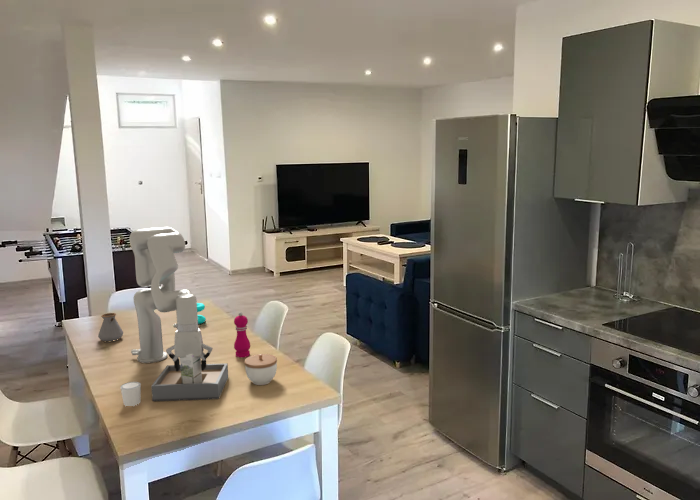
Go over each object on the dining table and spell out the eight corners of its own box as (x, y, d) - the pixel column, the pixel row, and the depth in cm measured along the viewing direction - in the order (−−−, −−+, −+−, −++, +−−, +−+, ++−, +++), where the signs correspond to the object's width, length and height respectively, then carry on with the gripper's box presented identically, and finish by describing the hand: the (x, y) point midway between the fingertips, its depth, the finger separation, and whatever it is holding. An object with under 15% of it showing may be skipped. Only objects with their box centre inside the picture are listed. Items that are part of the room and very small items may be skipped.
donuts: (188, 302, 299) (206, 302, 299) (189, 320, 301) (207, 319, 301) (182, 307, 289) (201, 307, 289) (184, 325, 291) (202, 325, 291)
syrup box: (203, 384, 212) (200, 348, 209) (194, 390, 206) (191, 354, 204) (190, 382, 214) (188, 347, 211) (181, 388, 208) (178, 352, 206)
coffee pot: (97, 338, 272) (94, 309, 269) (122, 334, 278) (119, 306, 275) (102, 351, 254) (99, 320, 251) (128, 346, 259) (125, 316, 257)
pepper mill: (247, 358, 241) (244, 314, 237) (231, 357, 242) (229, 314, 239) (253, 352, 248) (251, 310, 244) (238, 352, 249) (236, 309, 246)
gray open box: (152, 401, 200) (151, 385, 199) (168, 379, 219) (167, 365, 218) (218, 399, 200) (217, 383, 199) (228, 377, 220) (227, 363, 219)
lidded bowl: (263, 390, 207) (262, 362, 205) (238, 383, 214) (237, 357, 212) (284, 378, 218) (283, 352, 216) (260, 372, 224) (259, 347, 223)
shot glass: (125, 399, 201) (123, 381, 200) (144, 398, 202) (143, 380, 201) (119, 408, 195) (117, 389, 193) (139, 407, 195) (137, 388, 194)
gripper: (161, 330, 202) (165, 374, 205) (208, 329, 202) (211, 372, 205) (167, 324, 209) (170, 366, 212) (213, 323, 210) (215, 365, 213)
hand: (190, 369), depth 209 cm, fingers open, 9 cm apart
